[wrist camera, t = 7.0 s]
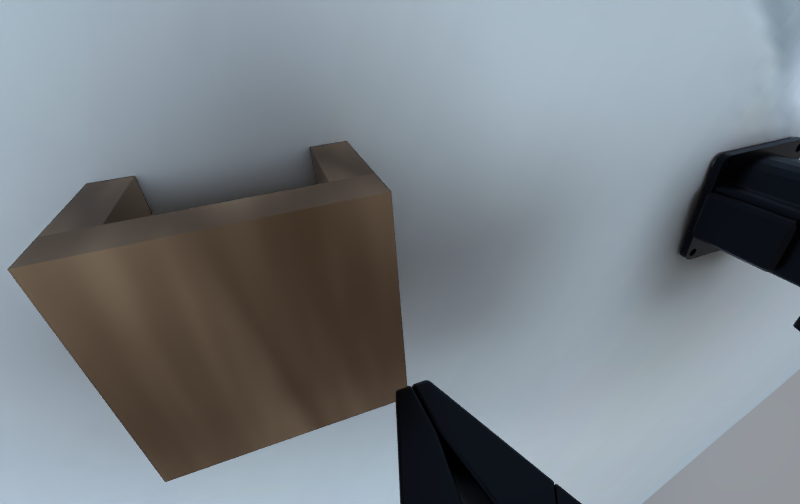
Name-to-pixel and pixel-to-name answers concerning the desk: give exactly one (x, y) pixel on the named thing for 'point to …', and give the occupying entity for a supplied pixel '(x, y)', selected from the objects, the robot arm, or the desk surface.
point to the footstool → (227, 309)
